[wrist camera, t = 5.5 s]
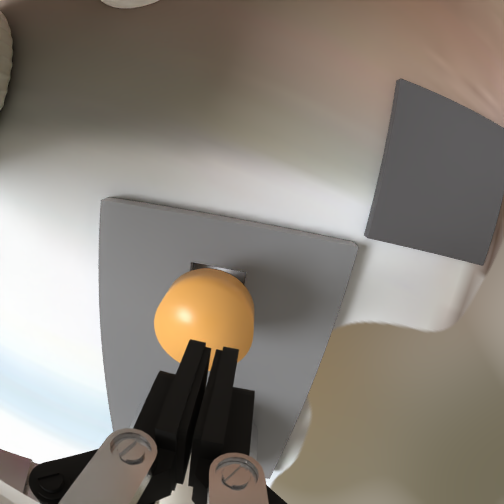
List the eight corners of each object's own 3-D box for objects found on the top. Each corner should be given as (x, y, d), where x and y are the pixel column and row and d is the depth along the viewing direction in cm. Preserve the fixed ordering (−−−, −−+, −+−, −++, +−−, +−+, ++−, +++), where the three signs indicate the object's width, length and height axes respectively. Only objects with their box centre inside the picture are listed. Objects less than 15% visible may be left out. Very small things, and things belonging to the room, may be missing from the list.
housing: (353, 241, 17) (377, 267, 13) (269, 470, 24) (269, 504, 20) (108, 196, 17) (72, 211, 13) (119, 440, 24) (106, 472, 20)
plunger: (262, 260, 17) (262, 297, 13) (247, 330, 18) (243, 378, 14) (180, 245, 17) (156, 276, 13) (173, 315, 18) (153, 359, 14)
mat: (508, 134, 14) (513, 134, 14) (478, 262, 17) (482, 265, 17) (396, 80, 14) (400, 78, 14) (363, 235, 17) (367, 238, 17)
